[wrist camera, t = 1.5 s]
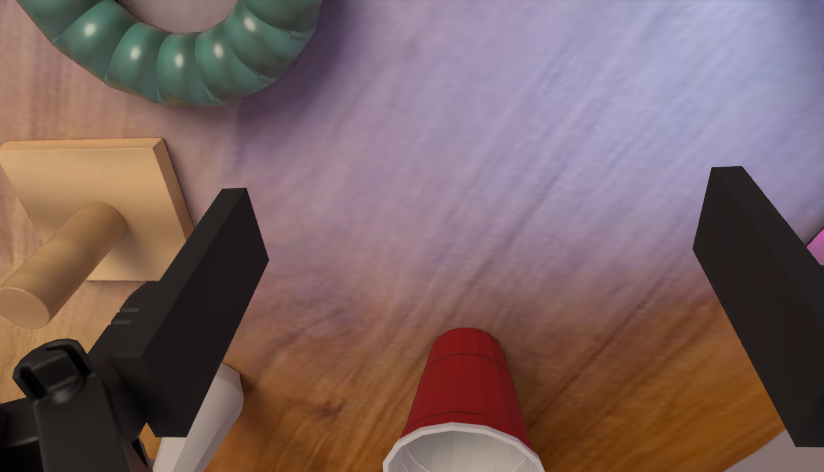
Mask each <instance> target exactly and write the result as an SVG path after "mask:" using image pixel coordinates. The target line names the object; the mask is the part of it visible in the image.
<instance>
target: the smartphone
mask: <svg viewBox="0 0 824 472" xmlns="http://www.w3.org/2000/svg"><path fill="white" fill-rule="evenodd" d="M806 247H807V248H808V250H809V251H810V252H811V254H812V255H813V256H814V257H815V259H816V260H817V261H818V262H819V264H820V265H824V227H823V228H822V229H821V230H820V231H819V233H818V234H817V235H816V236H815V237H814V238H813V239H812V240H811V241H810V242H809V243H808V244H807V245H806Z"/></svg>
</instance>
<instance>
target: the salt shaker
mask: <svg viewBox="0 0 824 472" xmlns="http://www.w3.org/2000/svg"><path fill="white" fill-rule="evenodd" d="M243 401H244V396H243V391H242V386H241V381H240V374H239V372H237V371H235V370H234V369H232V368H231V367H229V366H227V365H226V364H224V363H223V362H222V363H221V365H220V367H219V369H218V371H217V373H216V376H215V378H214V380H213V382H212V384H211V386H210V388H209V391H208V393H207V395H206V397H205V399H204V401H203V404H202V406H201V408H200V410H199V412H198V414H197V416H196V419H195V421H194V423H193V425H192V427H191V429H190V431H189V434H188V436H187V438H176V437H163V438H162V441H161V445H160V448H159V451H158V454H157V457H156V461H155V464H154V467H153V472H203V471H204V469H205V468H206V466H207V465H208V463H209V461H210V460H211V458H212V457H213V455H214V454H215V452H216V451H217V449H218V448H219V446H220V444H221V443H222V441H223V440H224V438H225V437H226V435H227V434H228V432H229V431H230V429H231V427H232V426H233V424H234V423H235V421H236V420H237V418H238V417H239V415H240V414H241V411H242V406H243Z"/></svg>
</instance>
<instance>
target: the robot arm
mask: <svg viewBox="0 0 824 472" xmlns="http://www.w3.org/2000/svg"><path fill="white" fill-rule="evenodd" d="M693 251H694V253H695V255H696V257H697V259H698V261H699V262H700V264H701V266H702V268H703V270H704V272H705V274H706V276H707V278H708V280H709V282H710V284H711V285H712V287H713V289H714V291H715V293H716V295H717V297H718V299H719V301H720V303H721V305H722V307H723V308H724V310H725V312H726V314H727V316H728V318H729V320H730V322H731V324H732V326H733V328H734V330H735V331H736V333H737V335H738V337H739V339H740V341H741V343H742V345H743V347H744V349H745V351H746V352H747V354H748V356H749V358H750V360H751V362H752V364H753V366H754V368H755V370H756V372H757V374H758V375H759V377H760V379H761V381H762V383H763V385H764V387H765V389H766V391H767V393H768V395H769V397H770V398H771V400H772V402H773V404H774V406H775V408H776V410H777V412H778V414H779V416H780V418H781V420H782V421H783V423H784V425H785V427H786V429H787V431H788V433H789V435H790V437H791V439H792V441H793V442H794V444H795V446H796V447H824V265H820V264H819V262H818V261H817V260H816V259H815V257H814V256H813V255H812V254H811V252H810V251H809V250H808V248H807V247H806V246H805V245H804V243H803V242H802V241H801V240H800V238H799V237H798V236H797V235H796V233H795V232H794V231H793V230H792V228H791V227H790V226H789V225H788V223H787V222H786V221H785V220H784V218H783V217H782V216H781V215H780V213H779V212H778V211H777V209H776V208H775V207H774V206H773V204H772V203H771V202H770V201H769V199H768V198H767V197H766V196H765V194H764V193H763V192H762V191H761V189H760V188H759V187H758V186H757V184H756V183H755V182H754V181H753V179H752V178H751V177H750V176H749V174H748V173H747V172H746V170H745V169H744V168H743V167H742V166H732V167H712V168H711V172H710V177H709V181H708V185H707V189H706V194H705V198H704V202H703V206H702V211H701V215H700V219H699V223H698V227H697V232H696V236H695V240H694V244H693ZM268 262H269V258H268V255H267V252H266V249H265V246H264V242H263V239H262V236H261V233H260V230H259V226H258V223H257V220H256V217H255V214H254V210H253V207H252V204H251V201H250V198H249V194H248V191H247V188H230V189H222V190H221V191H220V193H219V194H218V196H217V197H216V198H215V200H214V201H213V203H212V204H211V206H210V207H209V209H208V210H207V212H206V213H205V215H204V216H203V217H202V219H201V220H200V222H199V223H198V225H197V226H196V228H195V229H194V231H193V232H192V233H191V235H190V236H189V238H188V239H187V241H186V242H185V244H184V245H183V247H182V248H181V250H180V251H179V252H178V254H177V255H176V257H175V258H174V260H173V261H172V263H171V264H170V266H169V267H168V268H167V270H166V271H165V273H164V274H163V276H162V277H161V279H160V280H159V281H151V282H146V283H145V284H143V285H142V286H141V287H140V288H138V289H137V290H136V291H135V292H133V293H132V294H131V295H130V296H129V297H128V299H127V300H126V302H125V303H124V304H123V306H122V307H121V308H120V312H119V313H117V314H116V315H115V317H114V318H113V319H112V321H111V325H108V326H107V328H106V329H105V330H104V332H103V333H102V335H101V336H100V337H99V339H98V340H97V341H96V343H95V344H94V346H93V347H92V348H91V350H90V351H89V352H88V354H87V353H86V352H85V350H84V349H83V347H82V346H81V344H80V343H79V342H78V341H77V340H73V339H69V338H68V339H57V340H54V341H51V342H48V343H45V344H43V345H41V346H39V347H38V348H36V349H34V350H32V351H31V352H30V353H28V354H27V355H26V356H25V357H24V358H23V359H21V360H20V362H19V363H18V365H17V366H16V367H15V369H14V372H13V377H12V378H13V380H14V381H15V382H16V384H17V385H18V386H19V388H20V389H21V390H22V391H23V393H24V394H25V395H26V398H22V399H18V400H14V401H10V402H6V403H2V404H1V403H0V472H153V469H152V467H151V464H150V461H149V458H148V455H147V453H146V450H145V447H144V444H143V443H142V441H141V440H140V438H139V435H140V433H141V431H142V429H143V427H144V425H145V424H146V422H147V423H148V425H149V427H150V428H151V430H152V432H153V433H154V435H155V437H176V438H187V436H188V434H189V431H190V429H191V427H192V425H193V423H194V421H195V419H196V416H197V414H198V412H199V410H200V408H201V406H202V404H203V401H204V399H205V397H206V395H207V393H208V391H209V388H210V386H211V384H212V382H213V380H214V378H215V376H216V373H217V371H218V369H219V367H220V365H221V363H222V360H223V358H224V356H225V354H226V352H227V350H228V348H229V345H230V343H231V341H232V339H233V337H234V335H235V333H236V330H237V328H238V326H239V324H240V322H241V320H242V317H243V315H244V313H245V311H246V309H247V307H248V305H249V302H250V300H251V298H252V296H253V294H254V292H255V289H256V287H257V285H258V283H259V281H260V279H261V277H262V274H263V272H264V270H265V268H266V266H267V264H268Z"/></svg>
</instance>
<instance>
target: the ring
mask: <svg viewBox="0 0 824 472" xmlns="http://www.w3.org/2000/svg"><path fill="white" fill-rule="evenodd" d="M16 1H17V3H18V4H19V5H20V6H21V7H22V9H23V10H24V11H25V12H26V13H27V15H28V16H29V17H30V18H31V20H32V21H33V22H34V23H35V24H36V26H37V27H38V28H39V29H40V30H41V32H42V33H43V34H44V35H45V37H46V38H47V39H48V40H49V41H50V42H51V43H52V45H53V46H54V47H56V48H57V49H58V50H59V51H60V52H61V53H63V54H64V55H66V56H67V57H69V58H70V59H71V60H73V61H74V62H76V63H77V64H78V65H80V66H81V67H83V68H84V69H85V70H87V71H88V72H90V73H91V74H92V75H94V76H95V77H97V78H98V79H99V80H101V81H102V82H104V83H105V84H107V85H108V86H110V87H112V88H114V89H117V90H120V91H123V92H126V93H129V94H132V95H134V96H137V97H140V98H143V99H146V100H149V101H152V102H155V103H158V104H161V105H165V106H169V107H206V106H225V105H230V104H232V103H235V102H237V101H239V100H241V99H243V98H245V97H247V96H249V95H251V94H253V93H255V92H257V91H259V90H262V89H264V88H266V87H268V86H270V85H272V84H273V83H275V82H277V81H278V80H279V79H280V78H281V77H282V76H283V75H284V74H285V72H286V71H287V70H288V69H289V67H290V66H291V65H292V63H293V62H294V61H295V59H296V58H297V57H298V56H299V54H300V53H301V52H302V50H303V49H304V48H305V46H306V45H307V44H308V43H309V41H310V40H311V38H312V36H313V35H314V32H315V30H316V27H317V23H318V19H319V15H320V10H321V6H322V2H323V0H238V1H237V3H236V4H235V6H234V7H233V9H232V10H231V12H230V13H229V15H228V16H227V18H226V19H225V20H224V21H222V22H220V23H218V24H216V25H215V26H213V27H211V28H209V29H207V30H206V31H204V32H196V33H171V32H169V31H166V30H163V29H160V28H157V27H154V26H152V25H149V24H146V23H143V22H142V21H140V20H139V19H138V18H136V17H135V16H134V15H132V14H131V13H130V12H129V11H127V10H126V9H125V8H123V7H122V6H121V5H119V4H118V3H117V2H116V1H114V0H16Z"/></svg>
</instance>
